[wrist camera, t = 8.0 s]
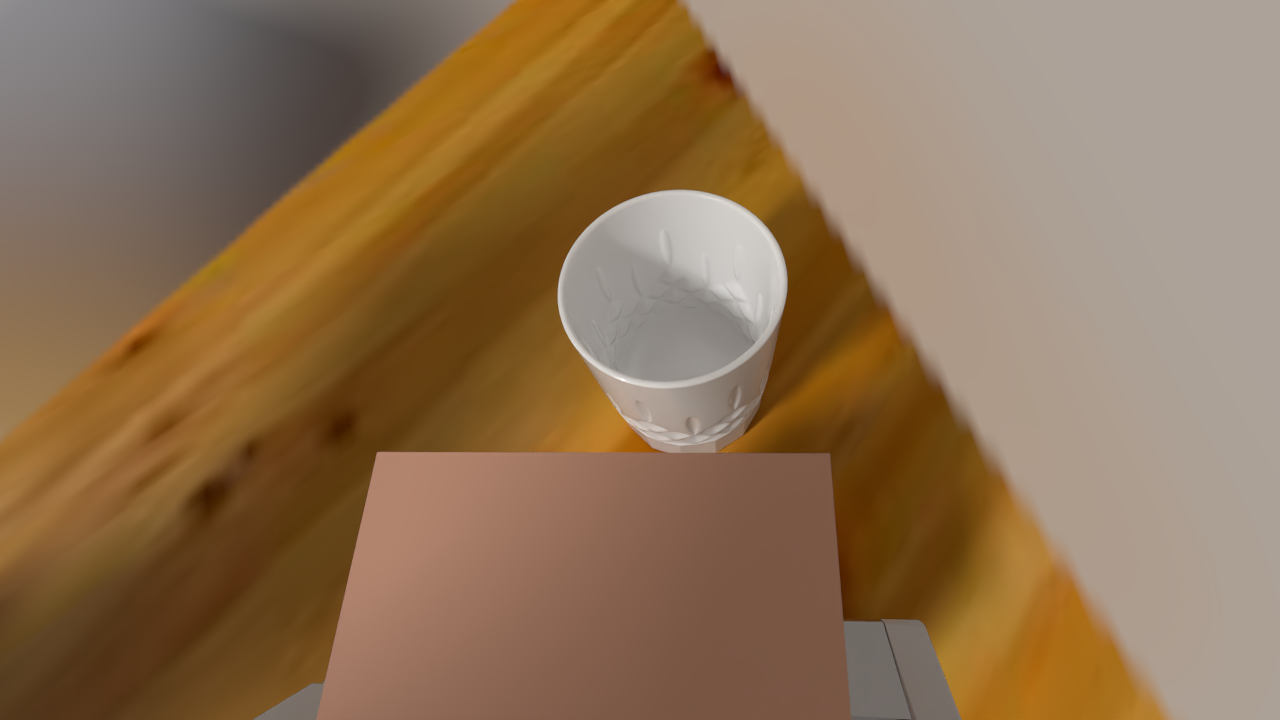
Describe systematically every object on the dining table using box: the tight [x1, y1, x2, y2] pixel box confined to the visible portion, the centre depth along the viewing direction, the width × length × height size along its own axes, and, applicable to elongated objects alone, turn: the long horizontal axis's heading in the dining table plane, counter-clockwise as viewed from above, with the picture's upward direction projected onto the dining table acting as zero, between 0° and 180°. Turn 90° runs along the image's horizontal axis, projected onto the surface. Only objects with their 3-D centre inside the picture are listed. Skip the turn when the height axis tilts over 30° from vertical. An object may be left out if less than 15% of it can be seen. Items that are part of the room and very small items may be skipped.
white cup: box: [558, 190, 788, 453], centre depth 26 cm, size 8×8×10 cm
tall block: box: [316, 452, 851, 720], centre depth 9 cm, size 4×4×9 cm
